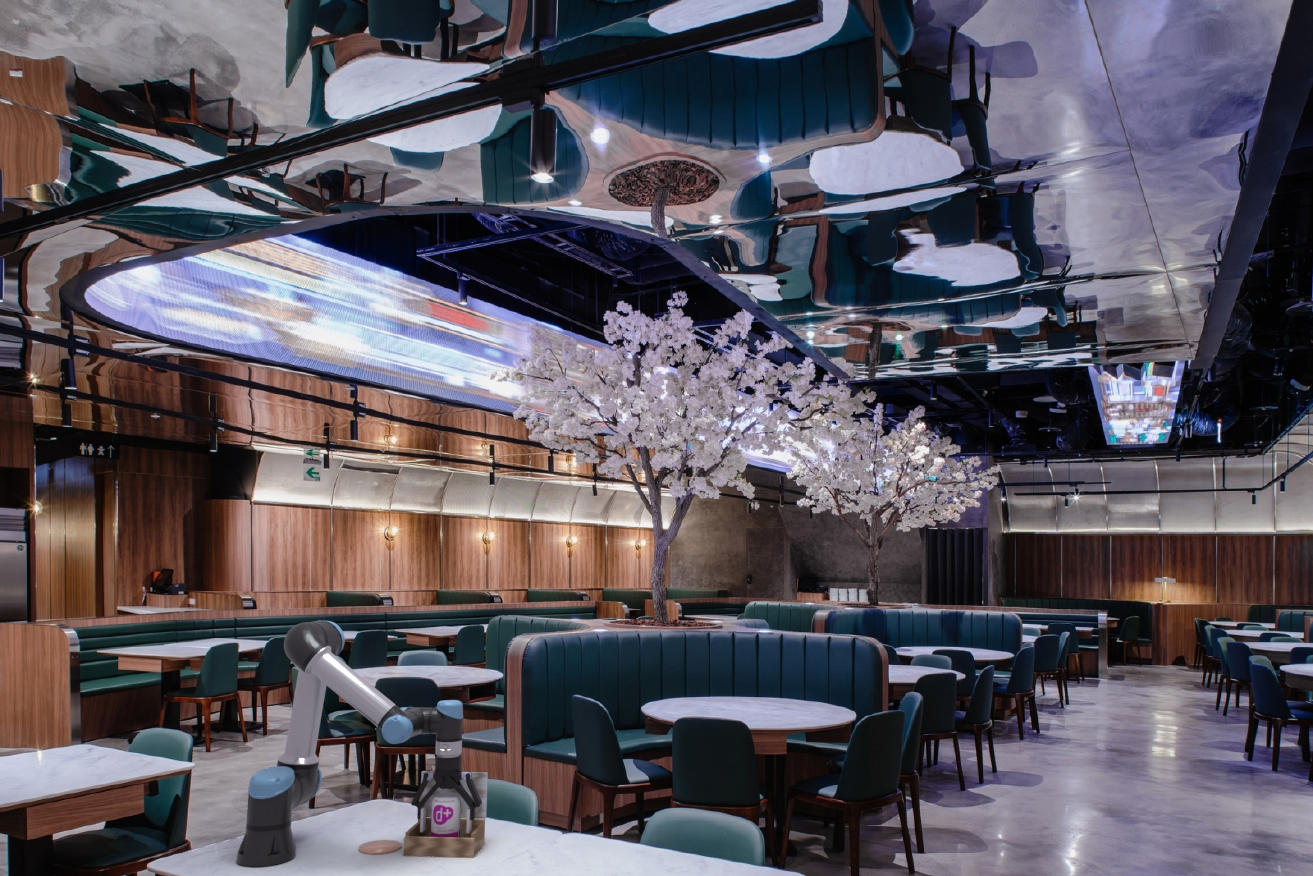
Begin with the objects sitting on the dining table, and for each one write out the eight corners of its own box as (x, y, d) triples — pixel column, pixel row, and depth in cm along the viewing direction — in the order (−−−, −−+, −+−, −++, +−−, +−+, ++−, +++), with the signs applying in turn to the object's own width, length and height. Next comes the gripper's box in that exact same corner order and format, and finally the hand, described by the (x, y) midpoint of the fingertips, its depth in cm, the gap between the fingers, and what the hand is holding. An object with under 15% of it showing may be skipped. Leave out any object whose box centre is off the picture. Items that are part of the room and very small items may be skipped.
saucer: (352, 854, 253) (352, 851, 254) (367, 841, 265) (368, 839, 265) (393, 855, 253) (393, 853, 253) (407, 842, 265) (407, 840, 265)
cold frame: (403, 856, 252) (406, 782, 255) (419, 841, 266) (422, 771, 269) (472, 857, 251) (475, 783, 254) (485, 843, 265) (487, 772, 268)
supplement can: (452, 855, 253) (454, 799, 255) (425, 853, 255) (427, 798, 257) (463, 846, 261) (465, 793, 263) (437, 844, 263) (439, 791, 265)
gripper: (402, 757, 259) (399, 834, 256) (487, 758, 257) (484, 836, 254) (411, 752, 266) (407, 827, 263) (493, 753, 265) (491, 828, 262)
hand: (445, 831), depth 259 cm, fingers open, 13 cm apart
